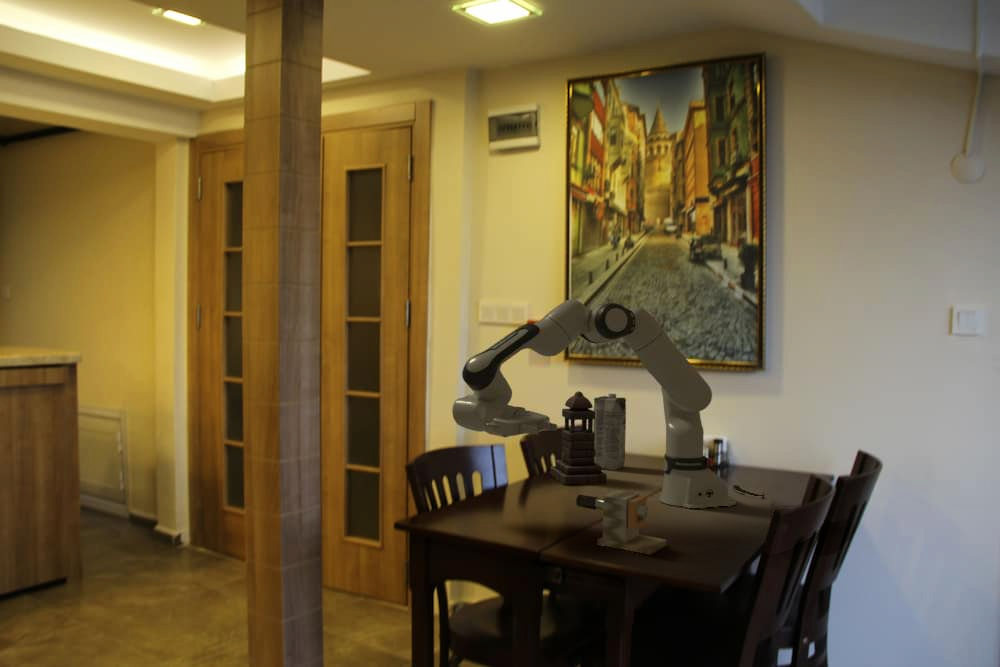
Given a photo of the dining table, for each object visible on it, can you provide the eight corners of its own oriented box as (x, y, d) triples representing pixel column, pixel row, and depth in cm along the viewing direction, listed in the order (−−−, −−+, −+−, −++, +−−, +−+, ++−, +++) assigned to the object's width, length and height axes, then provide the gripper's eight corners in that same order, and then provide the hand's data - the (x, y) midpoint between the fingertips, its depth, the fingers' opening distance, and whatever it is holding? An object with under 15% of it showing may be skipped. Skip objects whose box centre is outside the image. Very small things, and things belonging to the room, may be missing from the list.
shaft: (576, 507, 209) (576, 495, 209) (581, 505, 212) (582, 493, 211) (642, 519, 199) (643, 506, 199) (648, 516, 201) (648, 504, 201)
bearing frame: (597, 545, 202) (598, 496, 202) (615, 535, 210) (616, 488, 210) (649, 555, 194) (651, 504, 194) (666, 545, 202) (667, 496, 202)
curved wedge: (743, 500, 253) (743, 495, 252) (731, 490, 266) (731, 485, 266) (770, 500, 252) (770, 495, 252) (757, 490, 266) (757, 485, 266)
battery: (616, 471, 290) (618, 396, 288) (590, 468, 295) (591, 393, 294) (627, 467, 297) (628, 393, 296) (601, 464, 303) (602, 391, 302)
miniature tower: (607, 483, 270) (608, 393, 269) (564, 485, 267) (565, 394, 266) (590, 473, 286) (592, 388, 285) (549, 475, 283) (551, 389, 282)
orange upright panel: (628, 529, 199) (628, 501, 199) (640, 523, 205) (640, 495, 204) (634, 530, 198) (634, 502, 198) (645, 524, 204) (646, 496, 204)
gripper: (483, 412, 214) (527, 421, 207) (523, 406, 232) (566, 414, 224) (480, 435, 215) (525, 445, 207) (521, 428, 232) (564, 437, 224)
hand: (547, 429), depth 216 cm, fingers open, 8 cm apart
